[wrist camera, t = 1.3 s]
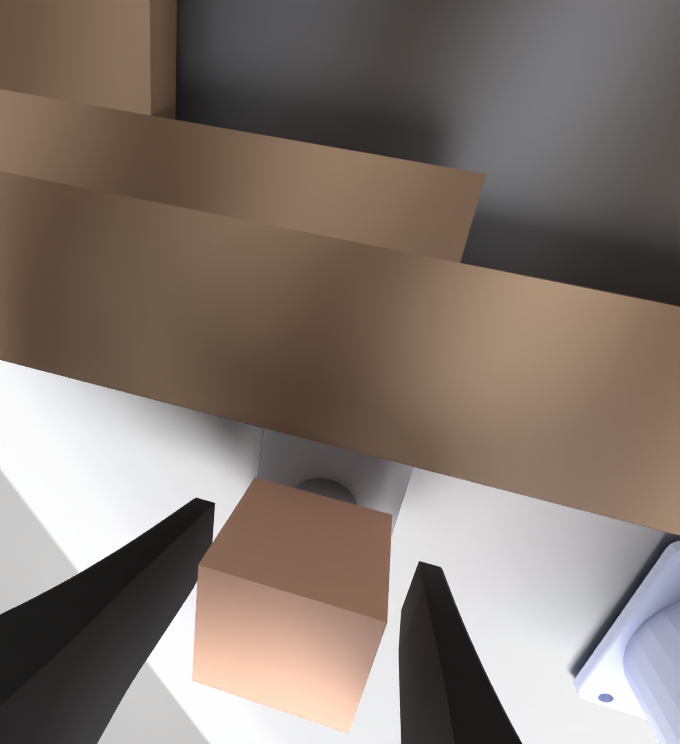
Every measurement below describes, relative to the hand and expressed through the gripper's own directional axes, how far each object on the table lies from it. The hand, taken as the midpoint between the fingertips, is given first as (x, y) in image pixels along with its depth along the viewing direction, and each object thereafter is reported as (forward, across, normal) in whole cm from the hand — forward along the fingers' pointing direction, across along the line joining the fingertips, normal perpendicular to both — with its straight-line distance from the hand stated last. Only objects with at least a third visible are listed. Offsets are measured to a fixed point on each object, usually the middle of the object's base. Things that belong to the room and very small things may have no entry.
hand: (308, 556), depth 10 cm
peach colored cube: (+3, 0, 0) cm, 3 cm away
